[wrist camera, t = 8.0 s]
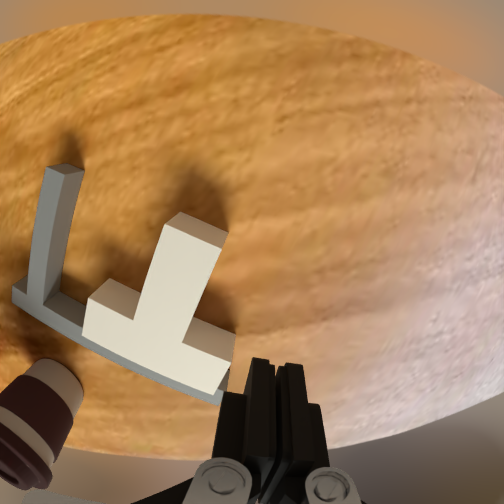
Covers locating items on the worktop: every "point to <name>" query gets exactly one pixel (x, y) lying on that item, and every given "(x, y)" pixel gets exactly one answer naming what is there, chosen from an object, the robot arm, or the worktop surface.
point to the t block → (167, 310)
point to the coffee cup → (36, 422)
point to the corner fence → (50, 270)
